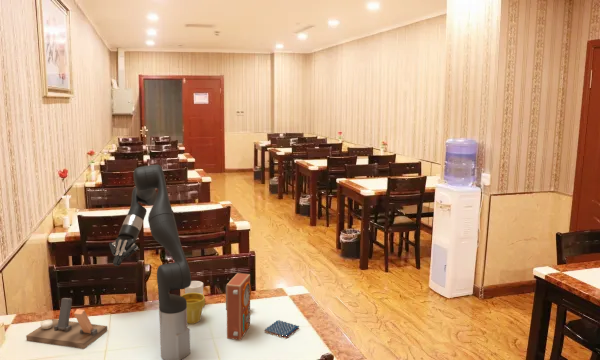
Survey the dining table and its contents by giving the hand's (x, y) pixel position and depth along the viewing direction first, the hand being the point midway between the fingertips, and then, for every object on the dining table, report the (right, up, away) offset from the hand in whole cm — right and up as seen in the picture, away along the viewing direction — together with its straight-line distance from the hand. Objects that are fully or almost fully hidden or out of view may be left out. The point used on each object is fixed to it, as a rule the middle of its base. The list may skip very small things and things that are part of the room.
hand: (115, 265), depth 199 cm
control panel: (+50, -25, -8) cm, 57 cm away
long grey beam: (-15, -21, -13) cm, 29 cm away
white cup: (+28, -20, +15) cm, 38 cm away
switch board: (-13, -24, -13) cm, 30 cm away
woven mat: (+67, -25, -6) cm, 72 cm away
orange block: (-4, -21, -16) cm, 27 cm away
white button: (-22, -21, -12) cm, 33 cm away
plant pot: (+30, -23, +1) cm, 38 cm away
